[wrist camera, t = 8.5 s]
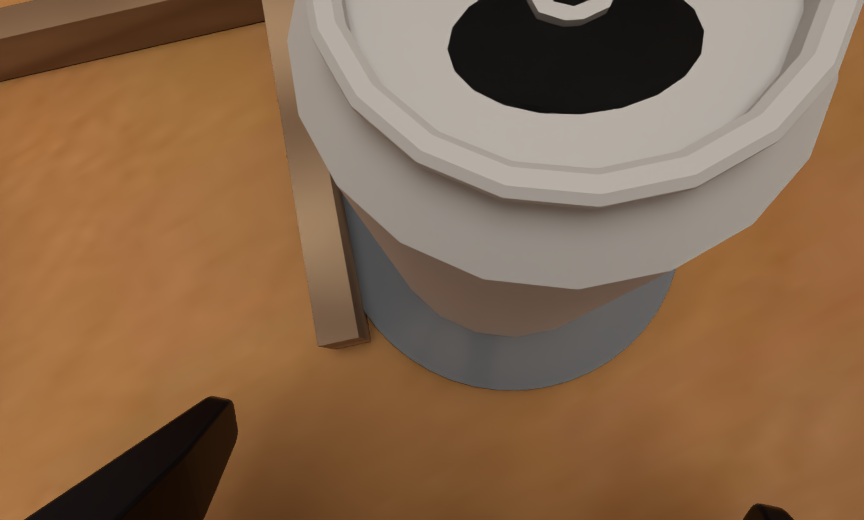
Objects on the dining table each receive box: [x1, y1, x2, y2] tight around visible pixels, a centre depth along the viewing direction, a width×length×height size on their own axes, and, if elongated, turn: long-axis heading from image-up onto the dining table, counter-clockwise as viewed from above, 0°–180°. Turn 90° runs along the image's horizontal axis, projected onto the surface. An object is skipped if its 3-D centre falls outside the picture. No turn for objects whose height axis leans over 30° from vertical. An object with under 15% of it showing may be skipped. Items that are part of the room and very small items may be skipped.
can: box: [287, 0, 864, 337], centre depth 12 cm, size 8×8×12 cm
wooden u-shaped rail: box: [0, 0, 371, 349], centre depth 18 cm, size 14×14×2 cm
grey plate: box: [342, 193, 676, 390], centre depth 18 cm, size 11×11×1 cm
